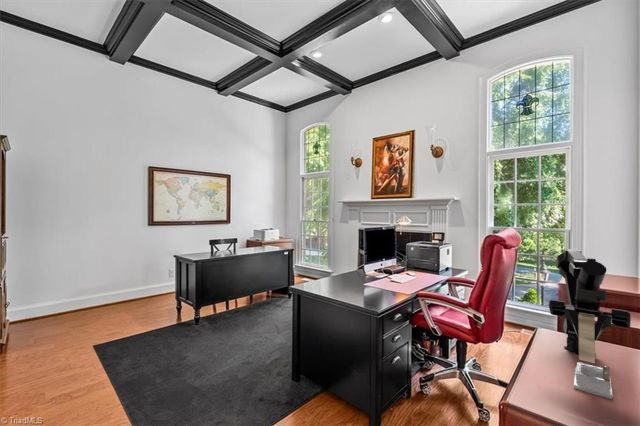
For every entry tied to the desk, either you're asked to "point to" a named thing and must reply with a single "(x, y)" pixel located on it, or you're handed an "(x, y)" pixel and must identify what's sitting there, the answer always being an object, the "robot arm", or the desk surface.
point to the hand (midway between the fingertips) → (586, 338)
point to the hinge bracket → (593, 379)
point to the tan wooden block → (586, 337)
